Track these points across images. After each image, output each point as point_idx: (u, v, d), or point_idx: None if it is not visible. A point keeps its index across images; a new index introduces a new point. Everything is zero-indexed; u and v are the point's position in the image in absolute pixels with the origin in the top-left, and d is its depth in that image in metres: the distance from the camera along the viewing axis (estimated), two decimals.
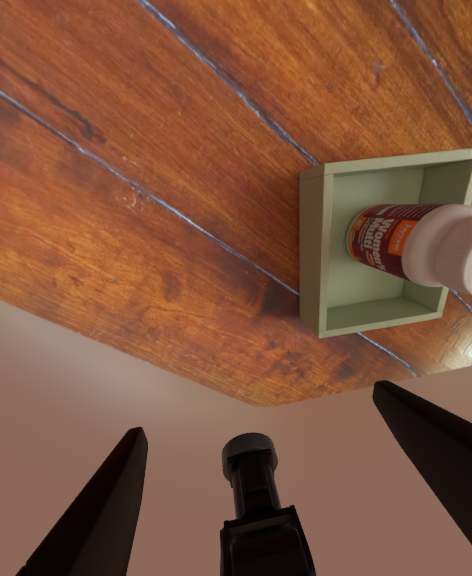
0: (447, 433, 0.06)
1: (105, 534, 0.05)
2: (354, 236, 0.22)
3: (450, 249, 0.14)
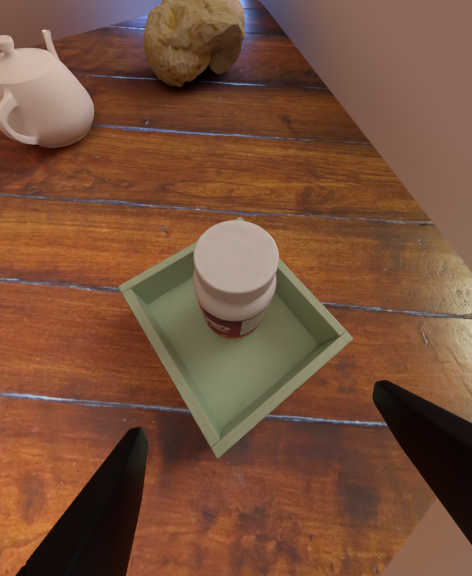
0: (447, 433, 0.06)
1: (105, 534, 0.05)
2: (205, 320, 0.21)
3: (197, 274, 0.14)
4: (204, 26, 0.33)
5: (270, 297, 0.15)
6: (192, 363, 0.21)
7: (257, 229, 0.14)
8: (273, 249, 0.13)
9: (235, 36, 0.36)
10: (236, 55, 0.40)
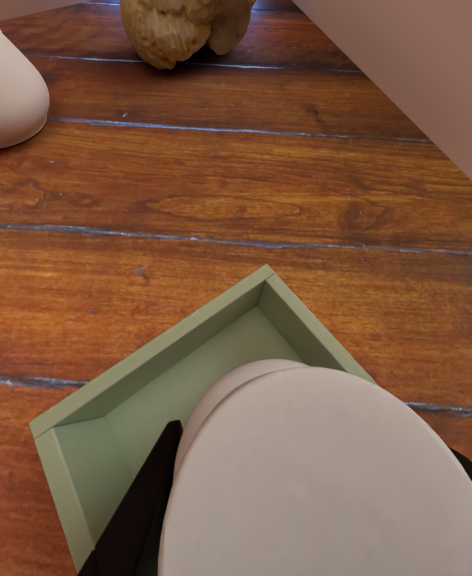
0: None
1: (162, 521, 0.05)
2: None
3: None
4: None
5: None
6: None
7: (389, 410, 0.04)
8: None
9: None
10: (243, 28, 0.31)
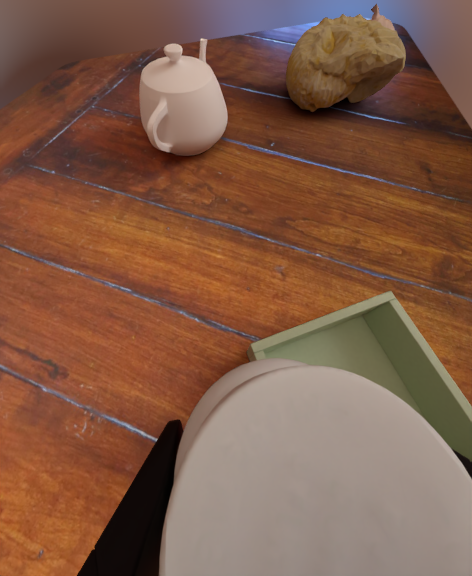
0: None
1: (162, 521, 0.05)
2: None
3: None
4: (367, 56, 0.30)
5: None
6: None
7: (389, 408, 0.04)
8: None
9: (393, 69, 0.32)
10: (381, 87, 0.37)
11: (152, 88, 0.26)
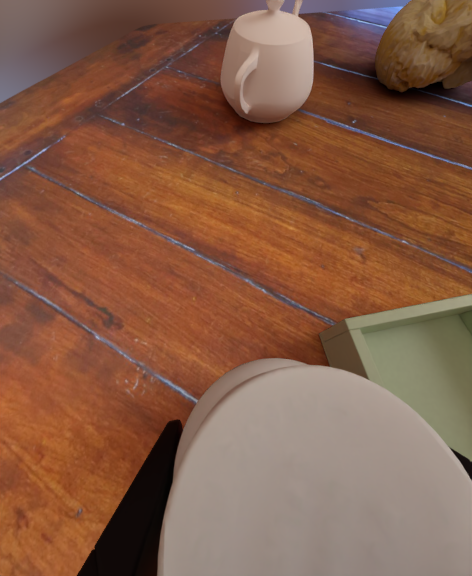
0: None
1: (162, 521, 0.05)
2: None
3: None
4: None
5: None
6: None
7: (388, 408, 0.04)
8: None
9: None
10: None
11: (245, 38, 0.24)
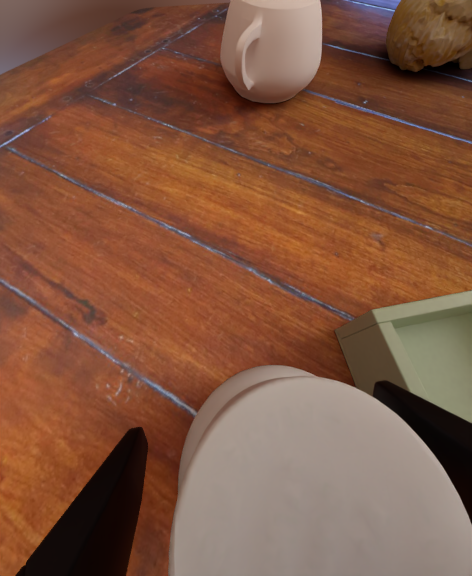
0: (447, 433, 0.06)
1: (105, 534, 0.05)
2: None
3: None
4: None
5: None
6: None
7: (378, 416, 0.04)
8: (455, 518, 0.04)
9: None
10: None
11: (247, 3, 0.22)
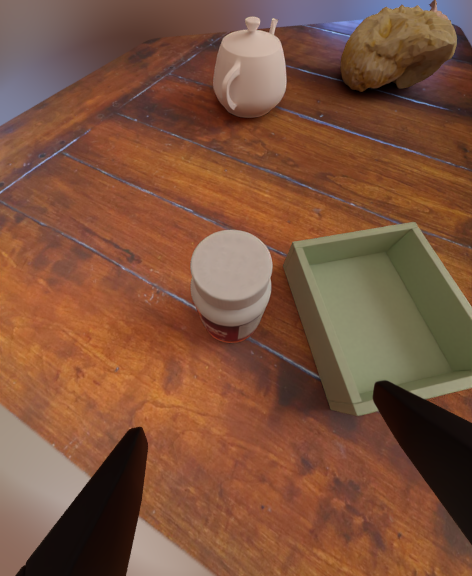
0: (447, 433, 0.06)
1: (105, 534, 0.05)
2: None
3: (194, 282, 0.14)
4: (420, 40, 0.33)
5: (265, 303, 0.16)
6: None
7: (251, 238, 0.14)
8: (266, 257, 0.14)
9: (442, 55, 0.36)
10: (429, 74, 0.40)
11: (230, 52, 0.32)
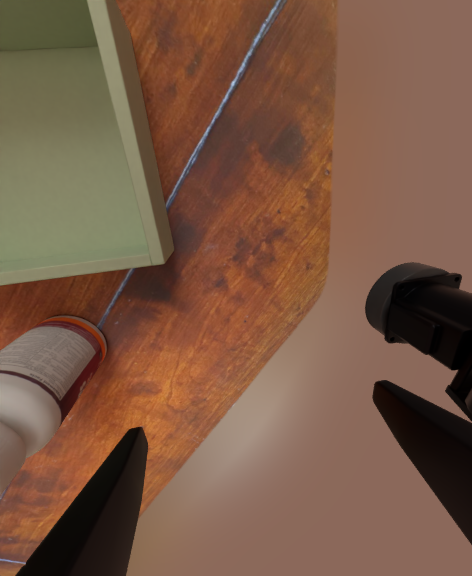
0: (447, 433, 0.06)
1: (105, 534, 0.05)
2: None
3: None
4: None
5: (13, 390, 0.12)
6: (80, 243, 0.17)
7: None
8: None
9: None
10: None
11: None
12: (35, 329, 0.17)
